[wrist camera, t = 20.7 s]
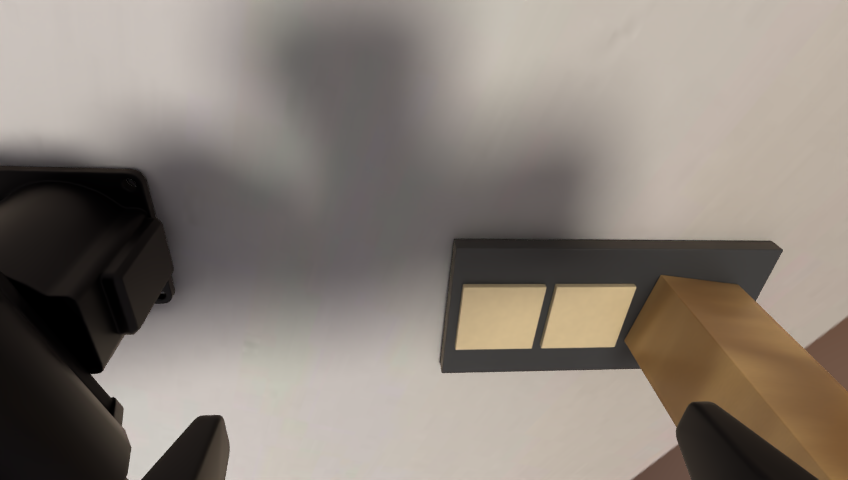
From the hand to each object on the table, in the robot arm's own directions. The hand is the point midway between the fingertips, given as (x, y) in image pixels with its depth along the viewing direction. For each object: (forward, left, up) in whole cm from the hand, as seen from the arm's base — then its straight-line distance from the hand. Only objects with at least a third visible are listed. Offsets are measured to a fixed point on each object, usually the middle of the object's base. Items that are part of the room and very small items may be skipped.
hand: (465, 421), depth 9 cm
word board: (+10, -8, -13) cm, 18 cm away
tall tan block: (+14, -8, -12) cm, 20 cm away
